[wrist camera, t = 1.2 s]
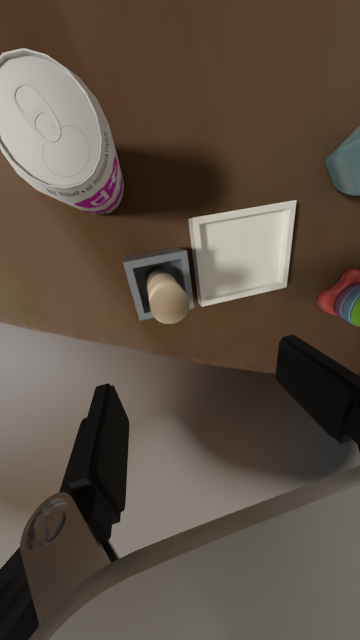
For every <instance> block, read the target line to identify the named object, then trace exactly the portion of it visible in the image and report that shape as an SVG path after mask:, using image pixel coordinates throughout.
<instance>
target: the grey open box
mask: <svg viewBox="0 0 360 640" xmlns="http://www.w3.org/2000/svg"><path fill="white" fill-rule="evenodd" d="M123 264H124V268H125V271H126V274H127V278H128V281H129V285H130V288H131V292H132V295H133V299H134V302H135V306H136V309H137V313H138V316H139V319H140V321H141V320H145V319H149V318H154V316H153V315H152V313H151V309H150V303H149V297H148V290H147V284H146V274H147V272H148V271H149V269H151V268H152V267H155V266H161V267H164V268H165V269H166V270H167V271H168V272H169V273H170V274H171V276H172V277H173V278H174V279H175V281H176V282H177V283H178V284H179V286H180V287H181V288H182V289H183V290H184V292H185V293H186V294H187V296H188V298H189V302H190V306H189V309H193V308H194V301H193V294H192V286H191V278H190V271H189V263H188V256H187V250H184V249H181V248H178V247H177V248H171V249H166V250H161V251H155V252H150V253H145V254H139V255H134V256H129V257H126V258H125V260H124V262H123Z"/></svg>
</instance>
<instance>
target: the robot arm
mask: <svg viewBox="0 0 360 640" xmlns="http://www.w3.org/2000/svg"><path fill="white" fill-rule="evenodd" d="M276 379H277V381H278V382H279V383H280V384H281V385H282V386H283V388H284V389H285V390H287V392H288V393H289V394H290V395H291V396H292V397H293V398H294V399H295V400H296V401H297V402H298V403H299V404H300V405H301V406H302V407H303V408H304V410H305V411H306V412H307V413H308V414H309V415H310V416H311V417H312V418H313V419H314V420H315V421H316V422H317V423H318V424H319V425H320V426H321V427H322V428H323V429H324V430H325V431H326V433H328V434H329V435H330V436H331V437H333V438H335V439H336V440H337V441H338V442H339V443H340V444H342V443H345V442H348V441H350V440H351V439H353V440H354V441H355V442H356V443H357V445H358V449H359V453H360V377H359V376H358V375H356V374H355V373H353V372H352V371H350V370H348V369H347V368H345V367H344V366H342V365H341V364H339V363H337V362H336V361H334V360H333V359H331V358H330V357H328V356H326V355H325V354H323V353H322V352H320V351H319V350H317V349H315V348H314V347H312V346H311V345H309V344H308V343H306V342H304V341H303V340H301V339H300V338H298V337H296V336H295V335H290V336H286V337H283V338H282V339H281V341H280V342H279V349H278V358H277V368H276ZM128 439H129V420H128V417H127V415H126V413H125V410H124V408H123V406H122V404H121V401H120V399H119V397H118V394H117V392H116V390H115V387H114V386H113V385H112V386H110V384H105V385H100V386H97V387H96V389H95V392H94V396H93V399H92V403H91V406H90V410H89V413H88V417H87V418H84V419H83V420H82V422H81V424H80V427H79V430H78V434H77V437H76V440H75V443H74V447H73V450H72V453H71V456H70V459H69V463H68V466H67V469H66V473H65V476H64V479H63V482H62V486H61V488H60V491H59V493H56V494H54V495H52V496H50V497H49V498H47V499H46V500H45V501H44V502H43V503H42V504H40V506H39V507H38V508H37V509H36V510H35V511H34V513H33V514H32V516H31V517H30V519H29V520H28V522H27V524H26V526H25V528H24V531H23V533H22V537H21V542H20V547H19V548H18V550H17V551H16V552H15V553H14V554H13V555H12V556H11V558H10V559H9V560H8V561H7V562H6V564H5V565H4V566H3V567H2V568H1V569H0V640H360V466H357V467H355V468H352V469H349V470H347V471H344V472H341V473H338V474H336V475H333V476H330V477H327V478H325V479H322V480H319V481H317V482H314V483H311V484H309V485H306V486H303V487H300V488H298V489H295V490H293V491H290V492H287V493H284V494H282V495H279V496H276V497H274V498H271V499H268V500H266V501H263V502H260V503H258V504H255V505H252V506H250V507H247V508H244V509H242V510H239V511H236V512H234V513H231V514H228V515H226V516H223V517H221V518H218V519H215V520H213V521H210V522H207V523H205V524H202V525H199V526H197V527H194V528H192V529H189V530H187V531H184V532H181V533H179V534H176V535H174V536H171V537H169V538H166V539H164V540H161V541H159V542H157V543H154V544H151V545H149V546H147V547H144V548H142V549H139V550H137V551H135V552H133V553H130V554H128V555H126V556H124V557H122V558H120V557H119V556H118V554H117V553H116V551H115V549H114V547H113V546H112V544H111V542H110V541H109V538H110V537H111V529H112V524H115V523H118V522H120V514H121V512H122V511H124V509H125V499H126V480H127V460H128Z"/></svg>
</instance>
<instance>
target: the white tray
mask: <svg viewBox="0 0 360 640" xmlns="http://www.w3.org/2000/svg"><path fill="white" fill-rule="evenodd" d="M296 201H297V200H294V201H288V202H282V203H277V204H271V205H265V206H259V207H253V208H247V209H241V210H235V211H230V212H224V213H218V214H212V215H206V216H200V217H194V218H190V219H188V221H189V229H190V238H191V246H192V254H193V263H194V271H195V280H196V288H197V297H198V303H199V304H200V305H201V306H202V307H203V306H207V305H211V304H216V303H220V302H225V301H229V300H233V299H238V298H242V297H246V296H251V295H255V294H259V293H264V292H268V291H272V290H277V289H281V288H285V287H287V280H288V271H289V262H290V253H291V244H292V236H293V227H294V218H295V209H296Z"/></svg>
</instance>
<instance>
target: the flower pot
mask: <svg viewBox="0 0 360 640" xmlns="http://www.w3.org/2000/svg"><path fill="white" fill-rule="evenodd" d="M325 164H326V167H327V169H328V172H329V175H330V177H331V180H332V183H333V186H334V187H335V188H336V189H337V190H339V191H340V192H342V193H344V194H347V195H352V196H360V125H359V126H358V127H357V128H356V129H355V130H354V131H353V132H352V133H351V134H350V135H349V136H348V137H347V138H346V139H345V141H344V142H343V143H342V144H341V145H340V146H339V147H338V148H337V149H336V150H335V151H334V152H333V153H332V154H331V155H330V156H329V157H328V158H327V160H326V162H325Z"/></svg>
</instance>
